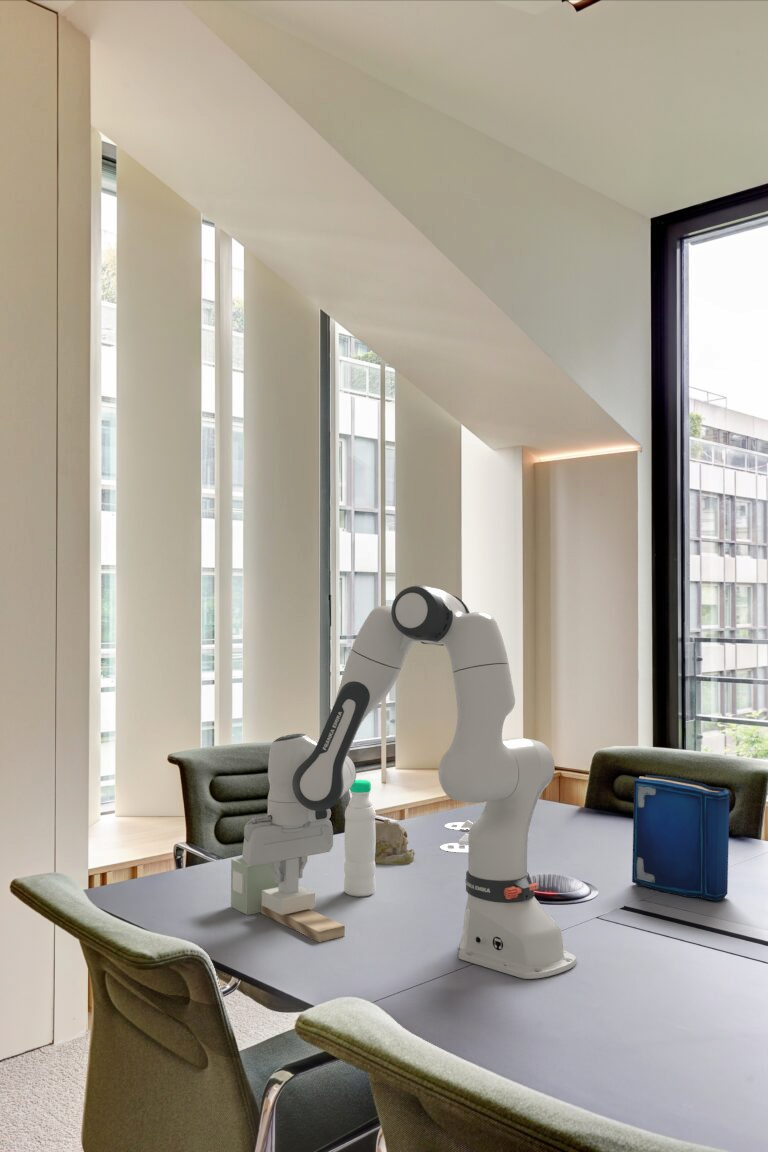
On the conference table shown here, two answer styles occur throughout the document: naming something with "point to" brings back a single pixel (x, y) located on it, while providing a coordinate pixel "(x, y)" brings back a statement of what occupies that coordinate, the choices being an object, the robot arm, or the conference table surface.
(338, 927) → the block
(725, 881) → the book
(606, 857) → the conference table surface
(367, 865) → the water bottle
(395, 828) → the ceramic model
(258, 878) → the end cabinet
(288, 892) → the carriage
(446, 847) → the cable organizer
